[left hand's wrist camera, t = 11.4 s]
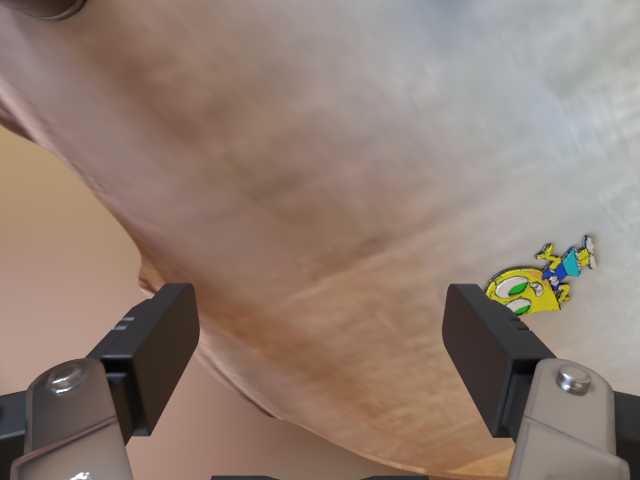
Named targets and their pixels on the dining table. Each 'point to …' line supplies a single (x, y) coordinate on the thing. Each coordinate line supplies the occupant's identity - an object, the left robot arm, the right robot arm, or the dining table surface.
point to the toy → (540, 281)
